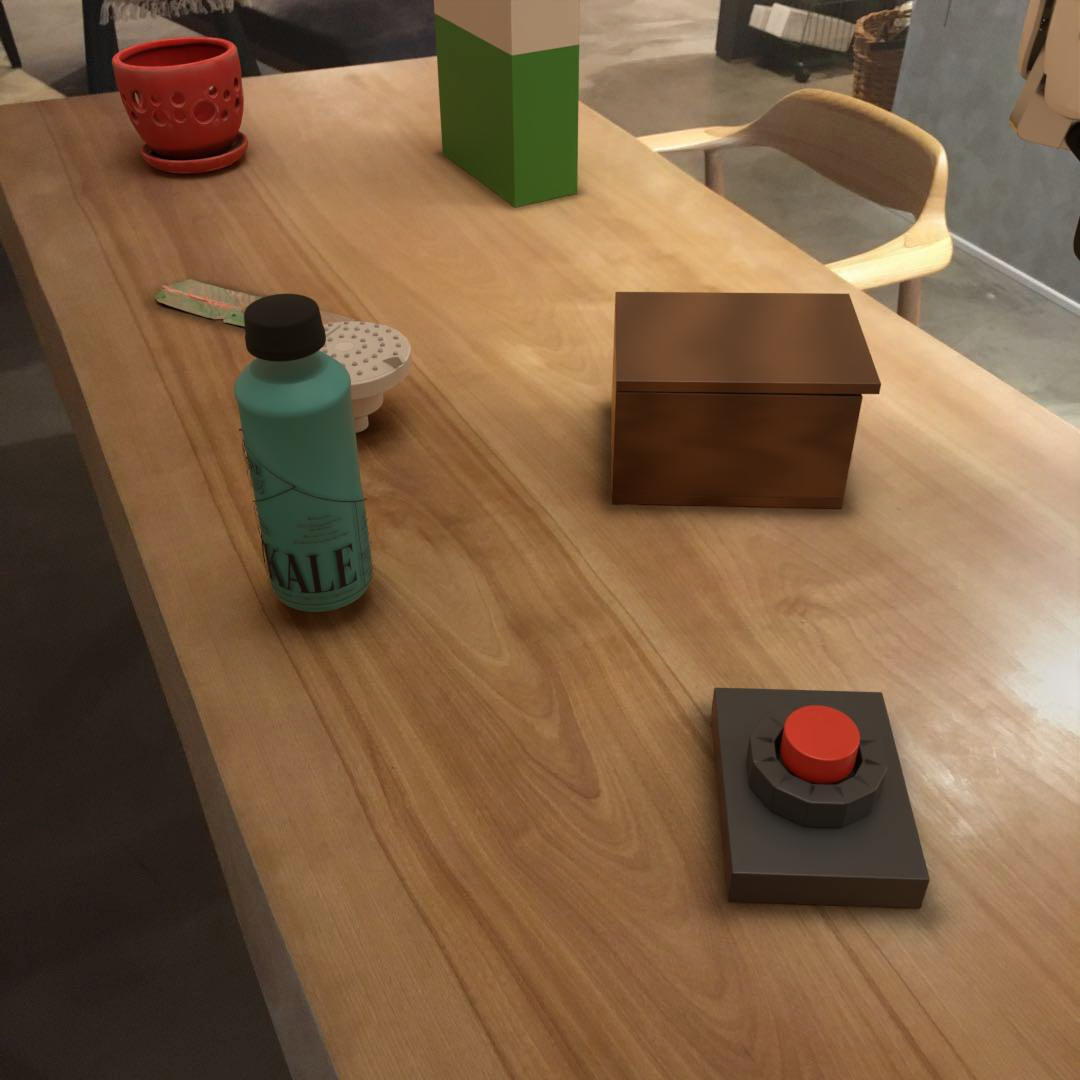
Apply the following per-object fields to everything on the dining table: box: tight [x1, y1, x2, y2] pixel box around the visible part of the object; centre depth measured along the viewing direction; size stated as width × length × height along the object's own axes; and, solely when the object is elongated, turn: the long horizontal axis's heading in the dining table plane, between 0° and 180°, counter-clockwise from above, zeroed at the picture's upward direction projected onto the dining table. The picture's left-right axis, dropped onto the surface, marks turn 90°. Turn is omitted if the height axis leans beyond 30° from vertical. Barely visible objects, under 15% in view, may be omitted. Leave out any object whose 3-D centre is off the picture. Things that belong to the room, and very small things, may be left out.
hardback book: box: [433, 0, 581, 208], centre depth 121 cm, size 18×7×24 cm, turn 29°
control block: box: [710, 687, 931, 909], centre depth 59 cm, size 12×9×4 cm
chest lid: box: [614, 291, 882, 395], centre depth 79 cm, size 17×13×1 cm
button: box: [780, 705, 860, 784], centre depth 57 cm, size 4×4×2 cm
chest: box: [610, 318, 864, 509], centre depth 82 cm, size 16×13×9 cm
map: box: [154, 278, 357, 327], centre depth 103 cm, size 5×20×1 cm, turn 63°
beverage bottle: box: [233, 293, 376, 613], centre depth 67 cm, size 6×7×20 cm
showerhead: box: [319, 320, 412, 434], centre depth 86 cm, size 9×7×10 cm
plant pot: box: [111, 36, 249, 175], centre depth 129 cm, size 13×13×12 cm
